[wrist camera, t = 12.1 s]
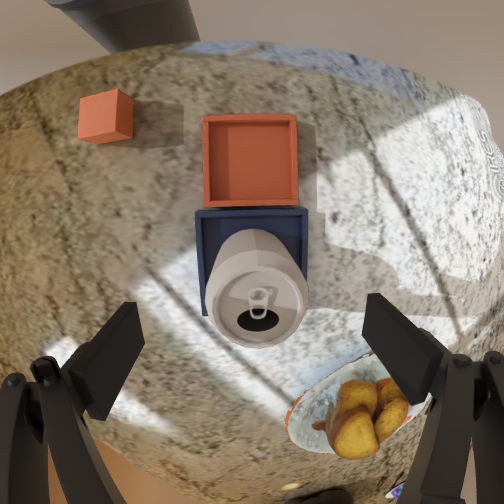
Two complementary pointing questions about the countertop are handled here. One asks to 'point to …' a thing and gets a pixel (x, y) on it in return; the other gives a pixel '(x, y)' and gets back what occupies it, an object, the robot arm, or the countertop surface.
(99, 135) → the block
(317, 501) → the stone bowl
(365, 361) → the food on plate
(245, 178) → the terracotta tray
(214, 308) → the can
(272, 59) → the countertop surface
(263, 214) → the navy tray
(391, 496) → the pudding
